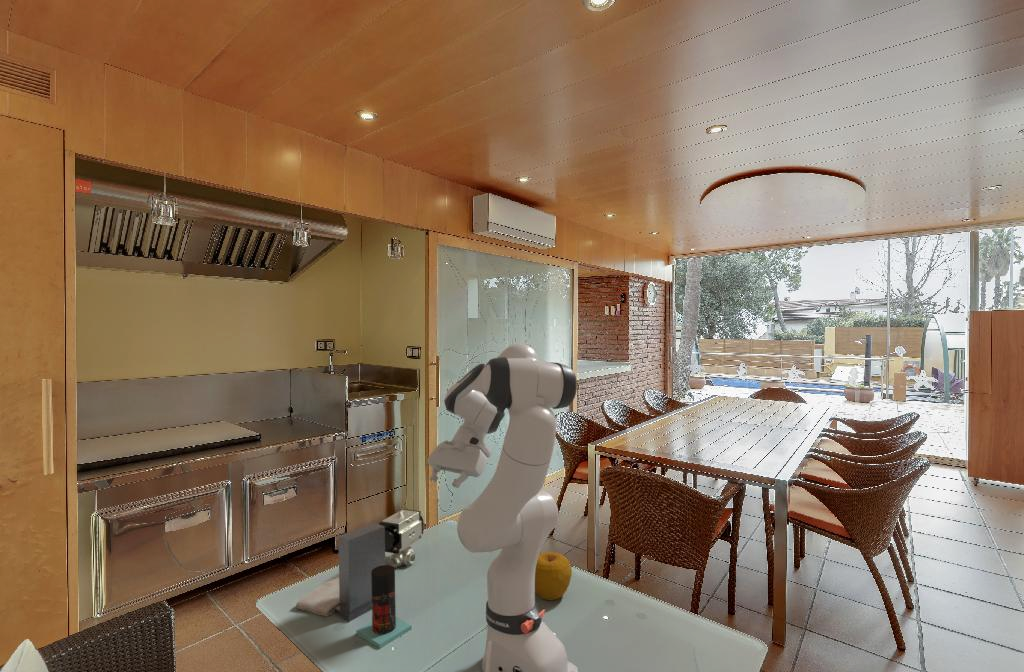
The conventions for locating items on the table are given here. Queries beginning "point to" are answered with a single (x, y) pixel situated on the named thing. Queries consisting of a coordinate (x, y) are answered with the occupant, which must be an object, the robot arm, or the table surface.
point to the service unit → (359, 569)
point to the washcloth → (322, 599)
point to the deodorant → (383, 599)
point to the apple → (552, 575)
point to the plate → (384, 639)
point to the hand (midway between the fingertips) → (443, 483)
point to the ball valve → (402, 536)
